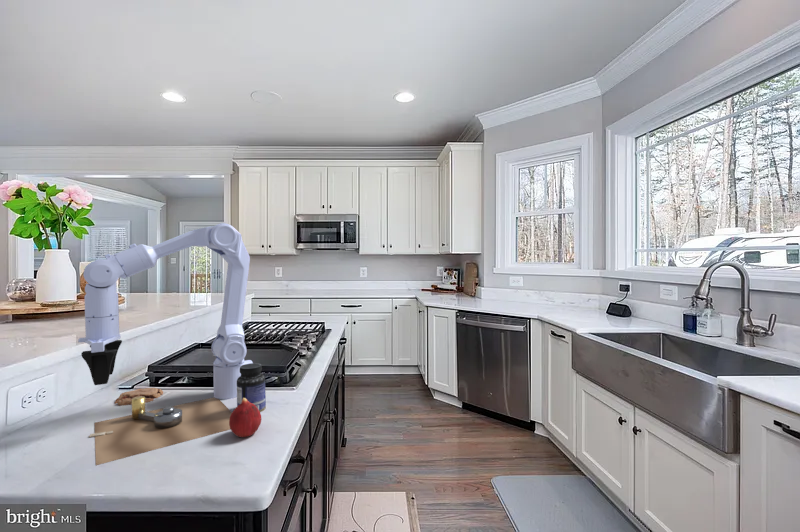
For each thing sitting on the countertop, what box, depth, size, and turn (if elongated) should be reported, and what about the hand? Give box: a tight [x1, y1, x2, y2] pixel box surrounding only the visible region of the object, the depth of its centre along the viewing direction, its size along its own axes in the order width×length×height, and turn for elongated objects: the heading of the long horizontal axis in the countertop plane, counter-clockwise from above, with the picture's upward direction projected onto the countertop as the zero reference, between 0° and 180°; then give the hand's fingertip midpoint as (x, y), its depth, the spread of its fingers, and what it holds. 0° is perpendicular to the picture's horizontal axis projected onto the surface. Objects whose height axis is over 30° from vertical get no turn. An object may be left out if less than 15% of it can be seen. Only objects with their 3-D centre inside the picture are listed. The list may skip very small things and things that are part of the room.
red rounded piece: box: [229, 398, 262, 438], centre depth 75 cm, size 6×6×8 cm
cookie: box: [114, 387, 164, 407], centre depth 96 cm, size 10×11×3 cm
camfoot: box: [131, 396, 182, 428], centre depth 82 cm, size 13×5×4 cm, turn 69°
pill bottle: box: [236, 362, 267, 413], centre depth 88 cm, size 6×6×11 cm
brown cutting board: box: [88, 396, 233, 466], centre depth 80 cm, size 25×22×1 cm
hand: (104, 379), depth 82 cm, fingers open, 7 cm apart
